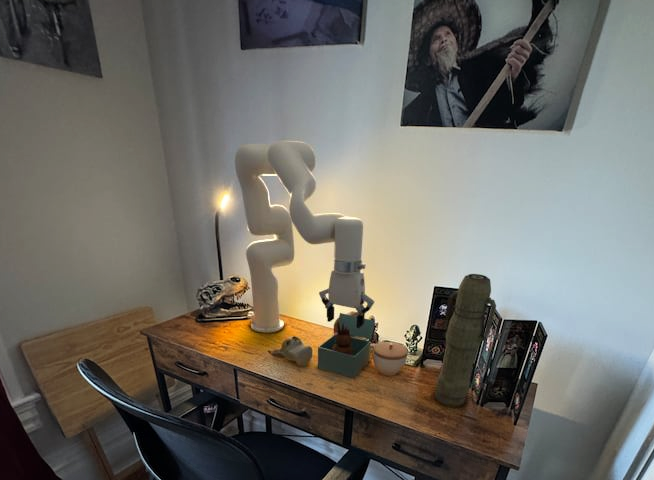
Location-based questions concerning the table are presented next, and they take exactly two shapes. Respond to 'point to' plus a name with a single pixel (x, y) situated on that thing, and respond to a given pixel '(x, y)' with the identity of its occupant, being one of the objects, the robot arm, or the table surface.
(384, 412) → the table surface
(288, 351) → the ceramic sculpture
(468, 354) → the thermos
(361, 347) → the carton
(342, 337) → the wooden figurine
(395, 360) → the trinket box
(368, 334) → the flap
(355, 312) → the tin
